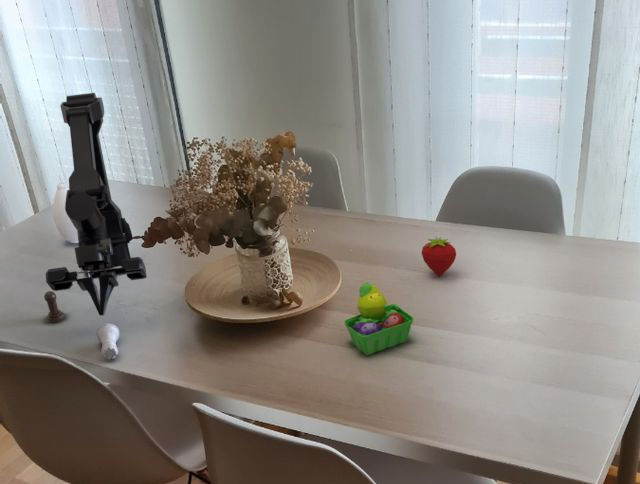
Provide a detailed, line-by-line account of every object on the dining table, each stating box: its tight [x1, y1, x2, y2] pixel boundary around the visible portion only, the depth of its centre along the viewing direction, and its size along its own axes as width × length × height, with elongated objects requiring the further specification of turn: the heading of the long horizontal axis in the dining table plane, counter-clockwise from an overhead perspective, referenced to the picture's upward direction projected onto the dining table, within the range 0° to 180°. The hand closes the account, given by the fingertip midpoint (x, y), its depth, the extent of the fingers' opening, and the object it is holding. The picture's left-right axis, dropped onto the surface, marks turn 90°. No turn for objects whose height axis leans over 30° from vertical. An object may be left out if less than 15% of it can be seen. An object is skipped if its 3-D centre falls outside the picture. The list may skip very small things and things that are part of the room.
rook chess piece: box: [95, 323, 120, 361], centre depth 169 cm, size 4×4×8 cm
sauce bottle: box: [52, 173, 78, 244], centre depth 213 cm, size 8×8×18 cm
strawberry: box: [421, 236, 457, 277], centre depth 183 cm, size 6×8×10 cm
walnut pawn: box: [43, 290, 65, 324], centre depth 182 cm, size 3×3×6 cm
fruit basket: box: [343, 282, 414, 356], centre depth 161 cm, size 11×9×11 cm
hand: (101, 315), depth 169 cm, fingers closed
